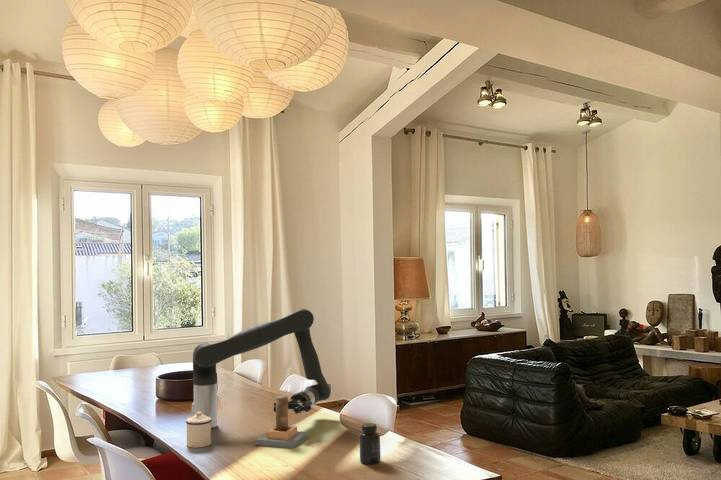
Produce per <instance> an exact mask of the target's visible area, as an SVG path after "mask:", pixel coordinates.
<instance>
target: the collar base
mask: <svg viewBox="0 0 721 480" xmlns="http://www.w3.org/2000/svg"><path fill="white" fill-rule="evenodd" d="M305 439H306V440H307V439H309V432H308V431H298V426H293V425H292V426H290V425H288V430H287V431H276V425H275V426H273V427H271V428H269V429H268V430H266V432H265V433H263V434H262V435H260V436H258V437H257V438H254V445H255V446H263V447H275V448H287V449H294V448H296V447H297V446H298V445H300V444H301V443H302V442H303V443H304V441H305Z"/></svg>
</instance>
